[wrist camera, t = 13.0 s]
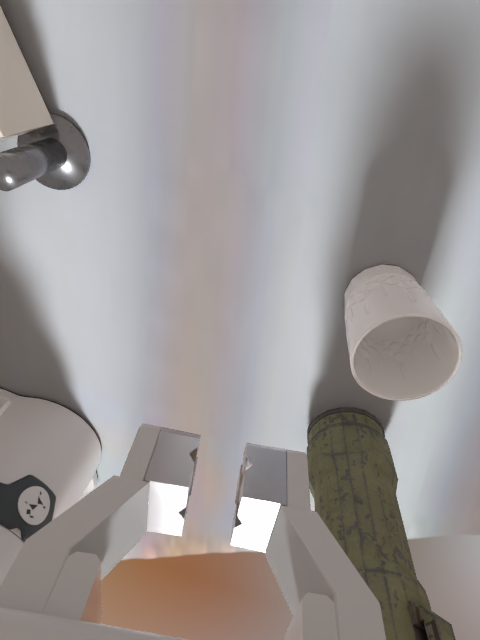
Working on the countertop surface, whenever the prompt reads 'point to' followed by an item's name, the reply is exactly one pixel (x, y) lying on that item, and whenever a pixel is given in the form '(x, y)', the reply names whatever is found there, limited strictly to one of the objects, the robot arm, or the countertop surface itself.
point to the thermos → (369, 518)
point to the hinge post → (47, 157)
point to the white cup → (397, 336)
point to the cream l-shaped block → (17, 89)
